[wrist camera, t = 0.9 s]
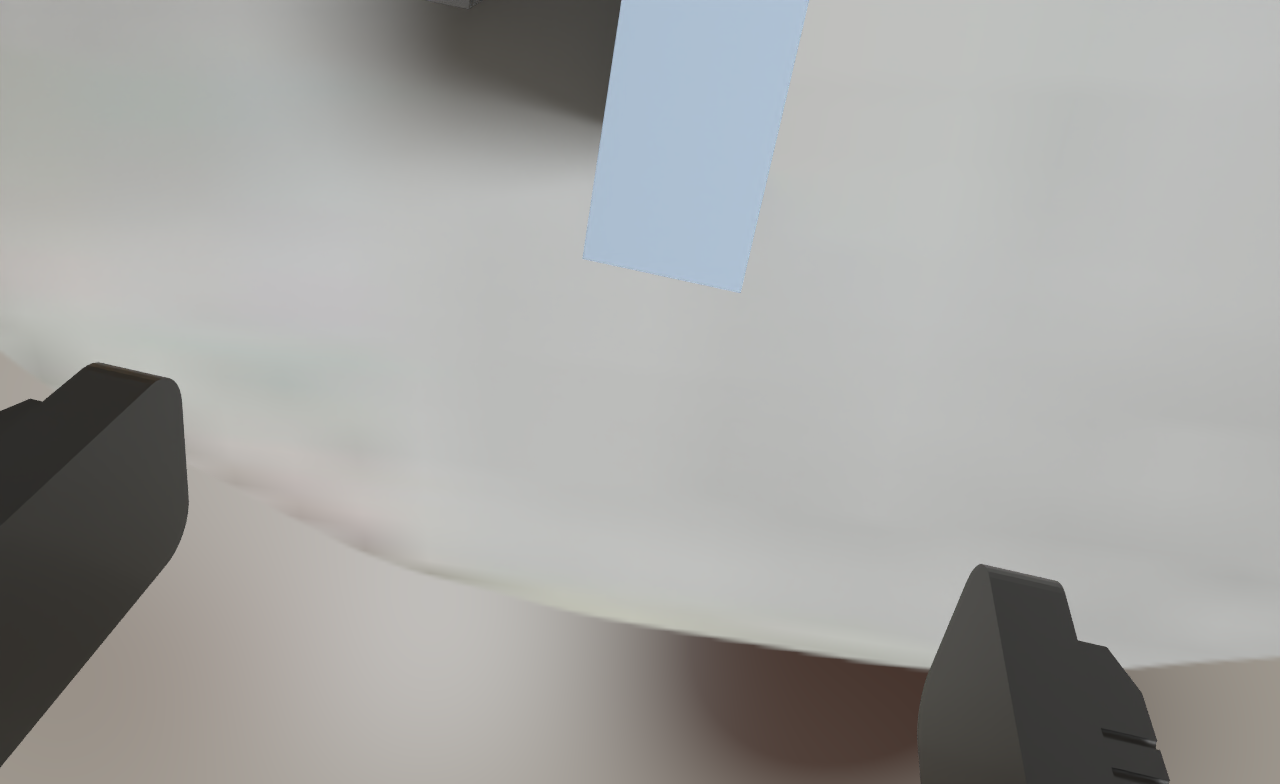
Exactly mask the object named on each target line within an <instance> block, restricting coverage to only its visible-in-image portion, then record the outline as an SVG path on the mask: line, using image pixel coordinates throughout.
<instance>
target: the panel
mask: <svg viewBox="0 0 1280 784" xmlns="http://www.w3.org/2000/svg"><path fill="white" fill-rule="evenodd" d="M808 3H809V0H621V7H620V13H619V20H618V27H617V33H616V40H615V47H614V53H613V60H612V66H611V73H610V80H609V86H608V93H607V100H606V106H605V113H604V120H603V126H602V133H601V139H600V146H599V153H598V159H597V166H596V173H595V179H594V186H593V193H592V199H591V206H590V212H589V219H588V226H587V232H586V239H585V246H584V252H583V259H586V260H590V261H595V262H599V263H604V264H609V265H613V266H618V267H623V268H627V269H632V270H636V271H641V272H646V273H650V274H655V275H660V276H664V277H669V278H673V279H678V280H683V281H687V282H692V283H697V284H701V285H706V286H710V287H715V288H720V289H724V290H729V291H734V292H738V293H741V289H742V284H743V280H744V276H745V272H746V267H747V263H748V259H749V255H750V250H751V246H752V242H753V237H754V233H755V229H756V225H757V220H758V216H759V212H760V208H761V203H762V199H763V195H764V191H765V186H766V182H767V178H768V173H769V169H770V165H771V161H772V156H773V152H774V148H775V144H776V139H777V135H778V131H779V127H780V122H781V118H782V114H783V109H784V105H785V101H786V97H787V92H788V88H789V84H790V80H791V75H792V71H793V67H794V63H795V58H796V54H797V50H798V45H799V41H800V37H801V33H802V28H803V24H804V20H805V16H806V11H807V7H808Z"/></svg>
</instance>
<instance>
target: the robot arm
mask: <svg viewBox="0 0 1280 784" xmlns="http://www.w3.org/2000/svg"><path fill="white" fill-rule="evenodd" d="M188 505H189V500H188V484H187V469H186V454H185V439H184V425H183V410H182V399H181V393H180V390H179V388H178V385H177V384H176V383H175V381H173V380H172V379H170V378H166V377H161V376H157V375H152V374H148V373H143V372H139V371H135V370H130V369H126V368H121V367H117V366H112V365H108V364H104V363H92V364H90V365H87V366H86V367H84V368H83V369H82V370H80V371H79V372H78V373H77V374H75V375H74V376H73V377H72V378H71V379H69V380H68V381H67V382H66V383H65V384H63V385H62V386H61V387H60V388H59V389H57V390H56V391H55V392H54V393H52V394H51V395H50V396H49V397H48V398H46V399H45V400H44V401H43V402H41V401H37V400H33V399H28V400H26V401H24V402H21V403H19V404H16V405H14V406H12V407H9V408H7V409H4V410H2V411H0V767H1V766H2V765H3V763H4V762H5V761H6V760H7V758H8V757H9V756H10V755H11V754H12V752H13V751H14V750H15V749H16V748H17V746H18V745H19V744H20V743H21V741H22V740H23V739H24V738H25V736H26V735H27V734H28V733H29V732H30V730H31V729H32V728H33V727H34V725H35V724H36V723H37V722H38V721H39V719H40V718H41V717H42V716H43V714H44V713H45V712H46V711H47V710H48V708H49V707H50V706H51V705H52V704H53V702H54V701H55V700H56V699H57V698H58V696H59V695H60V694H61V693H62V691H63V690H64V689H65V688H66V687H67V685H68V684H69V683H70V682H71V680H72V679H73V678H74V677H75V676H76V674H77V673H78V672H79V671H80V669H81V668H82V667H83V666H84V665H85V663H86V662H87V661H88V660H89V658H90V657H91V656H92V655H93V654H94V652H95V651H96V650H97V649H98V647H99V646H100V645H101V644H102V643H103V641H104V640H105V639H106V638H107V636H108V635H109V634H110V633H111V632H112V630H113V629H114V628H115V627H116V625H117V624H118V623H119V622H120V621H121V619H122V618H123V617H124V616H125V614H126V613H127V612H128V611H129V610H130V608H131V607H132V606H133V605H134V604H135V602H136V601H137V600H138V599H139V597H140V596H141V595H142V594H143V593H144V591H145V590H146V589H147V588H148V586H149V585H150V584H151V583H152V582H153V580H154V579H155V578H156V576H158V574H159V573H160V572H161V571H162V569H163V568H164V567H165V566H166V565H167V563H168V562H169V560H170V559H171V558H172V556H173V554H174V553H175V551H176V549H177V547H178V545H179V542H180V540H181V537H182V535H183V531H184V528H185V525H186V520H187V514H188ZM917 729H918V730H917V737H918V738H917V740H918V754H919V767H920V779H921V784H1169V781H1170V780H1169V777H1168V774H1167V770H1166V768H1165V764H1164V761H1163V758H1162V755H1161V752H1160V750H1156V742H1157V739H1156V736H1155V733H1154V730H1153V727H1152V723H1151V720H1150V717H1149V714H1148V711H1147V708H1146V705H1145V701H1144V698H1143V695H1142V693H1141V691H1140V690H1139V689H1138V687H1137V686H1136V685H1135V684H1134V682H1133V681H1132V680H1131V678H1130V677H1129V676H1128V674H1127V673H1126V672H1125V670H1124V669H1123V668H1122V667H1121V665H1120V664H1119V663H1118V661H1117V660H1116V659H1115V657H1114V656H1113V655H1112V654H1111V652H1110V651H1109V650H1108V648H1107V647H1104V646H1100V645H1095V644H1091V643H1086V642H1082V641H1078V640H1077V636H1076V633H1075V629H1074V625H1073V621H1072V618H1071V614H1070V610H1069V606H1068V602H1067V599H1066V595H1065V592H1064V589H1063V587H1062V585H1061V584H1060V583H1059V582H1058V581H1054V580H1050V579H1045V578H1041V577H1036V576H1032V575H1028V574H1023V573H1019V572H1014V571H1010V570H1006V569H1001V568H997V567H992V566H988V565H983V564H980V565H978V566H976V567H975V568H974V570H973V571H972V572H971V574H970V576H969V578H968V580H967V582H966V584H965V587H964V589H963V592H962V594H961V596H960V599H959V601H958V604H957V606H956V608H955V611H954V613H953V615H952V618H951V620H950V623H949V625H948V627H947V630H946V632H945V635H944V637H943V639H942V642H941V644H940V647H939V649H938V651H937V654H936V656H935V658H934V661H933V663H932V666H931V668H930V670H929V673H928V676H927V678H926V681H925V685H924V689H923V693H922V697H921V702H920V708H919V716H918V728H917Z"/></svg>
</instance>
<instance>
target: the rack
mask: <svg viewBox="0 0 1280 784" xmlns="http://www.w3.org/2000/svg"><path fill="white" fill-rule="evenodd" d="M426 1H431V2H436V3H441V4H446V5H451V6H455V7H460V8H465V9H469V8H471V7H473V6H474V5H476V4H477V3H479V2H480V1H482V0H426Z"/></svg>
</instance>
